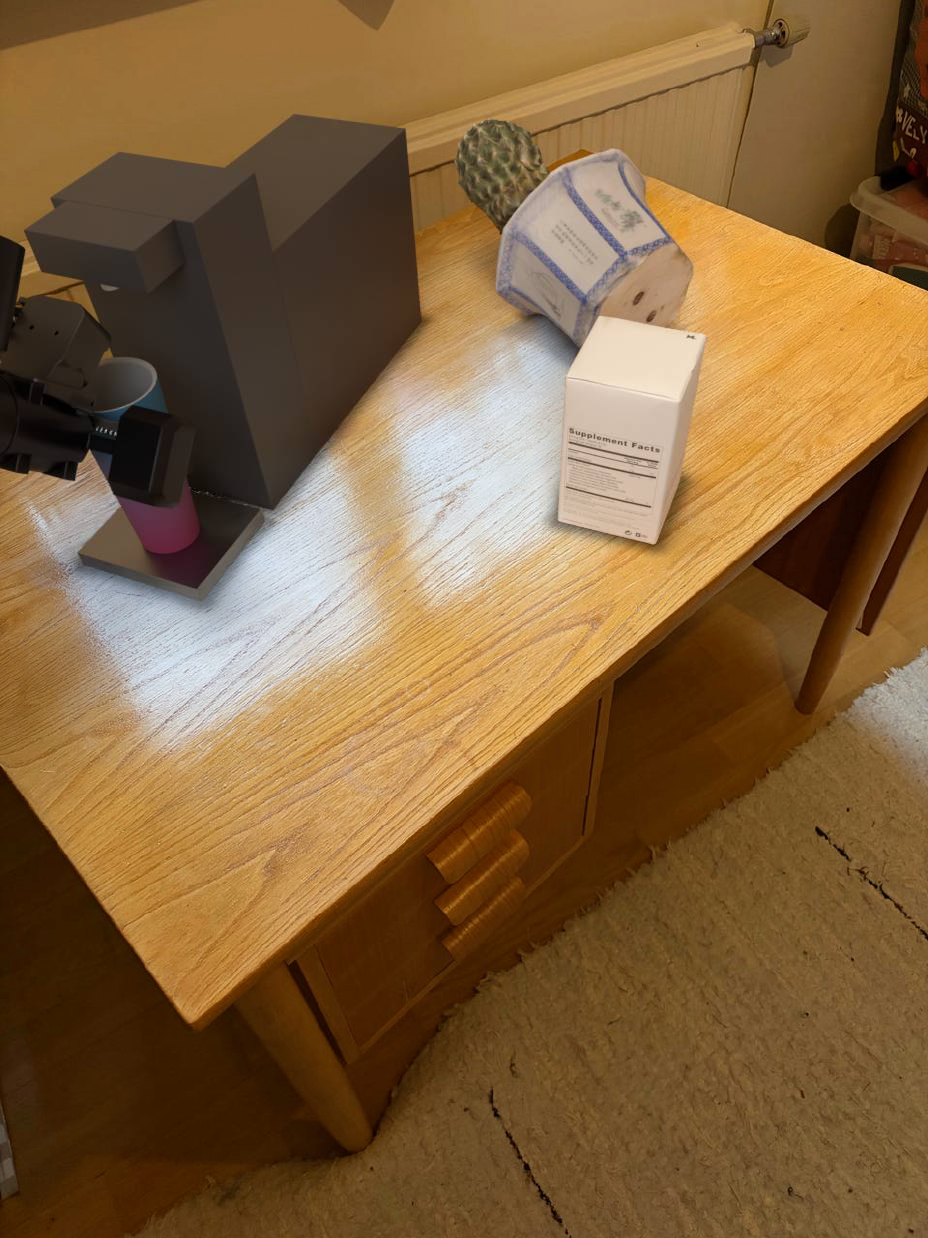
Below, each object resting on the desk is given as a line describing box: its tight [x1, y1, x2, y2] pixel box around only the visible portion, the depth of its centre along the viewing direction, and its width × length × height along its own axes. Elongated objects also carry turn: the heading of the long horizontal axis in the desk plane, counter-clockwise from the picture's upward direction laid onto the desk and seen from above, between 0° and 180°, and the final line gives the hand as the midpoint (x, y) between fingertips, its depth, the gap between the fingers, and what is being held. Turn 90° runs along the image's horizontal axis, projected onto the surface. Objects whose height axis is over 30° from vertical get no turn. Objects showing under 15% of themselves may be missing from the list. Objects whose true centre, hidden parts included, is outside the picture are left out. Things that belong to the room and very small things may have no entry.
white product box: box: [557, 316, 707, 545], centre depth 71 cm, size 9×9×15 cm
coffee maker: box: [23, 113, 422, 511], centre depth 78 cm, size 37×12×26 cm, turn 158°
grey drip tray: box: [76, 489, 265, 602], centre depth 75 cm, size 10×12×2 cm
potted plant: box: [453, 117, 694, 350], centre depth 91 cm, size 18×18×30 cm
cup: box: [82, 357, 200, 554], centre depth 69 cm, size 7×7×15 cm
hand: (144, 450), depth 69 cm, fingers open, 9 cm apart
